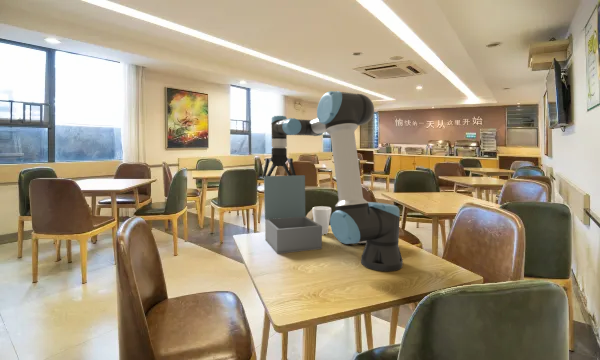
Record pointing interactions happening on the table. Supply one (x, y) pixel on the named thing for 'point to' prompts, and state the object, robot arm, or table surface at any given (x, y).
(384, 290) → the table surface
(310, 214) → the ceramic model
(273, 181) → the lid flap
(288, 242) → the carton
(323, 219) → the foam cup
